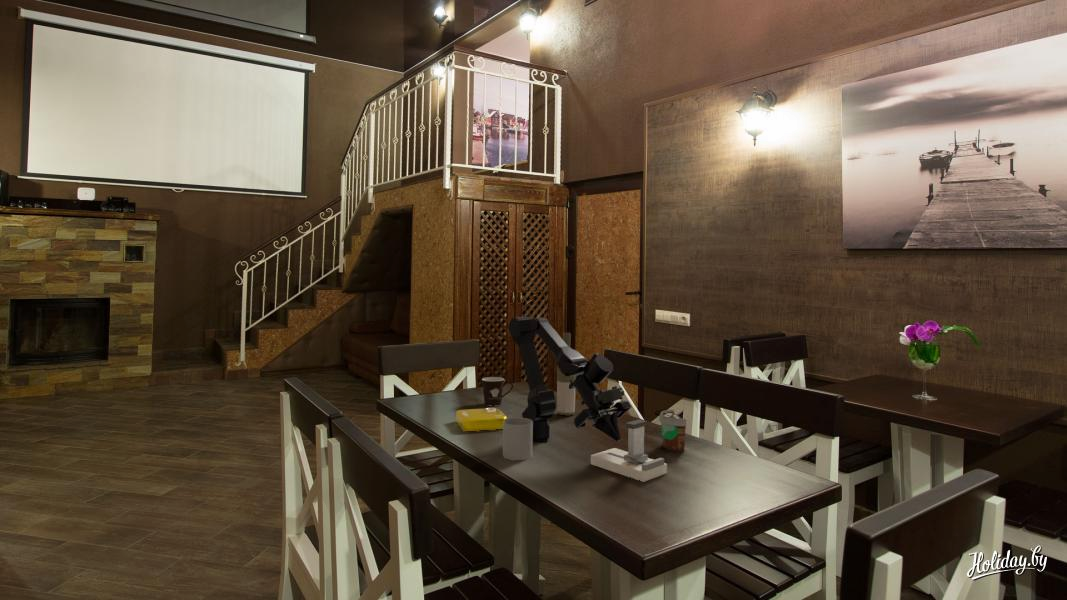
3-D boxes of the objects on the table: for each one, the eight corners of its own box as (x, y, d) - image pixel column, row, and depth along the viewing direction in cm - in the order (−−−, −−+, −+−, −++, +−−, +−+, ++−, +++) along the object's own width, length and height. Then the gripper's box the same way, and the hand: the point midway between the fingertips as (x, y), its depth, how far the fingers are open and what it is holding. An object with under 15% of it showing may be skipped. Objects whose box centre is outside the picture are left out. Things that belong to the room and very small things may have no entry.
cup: (510, 462, 165) (510, 426, 164) (498, 453, 172) (498, 419, 171) (537, 457, 169) (537, 423, 168) (524, 449, 176) (524, 416, 175)
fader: (623, 460, 158) (623, 422, 157) (636, 456, 162) (637, 418, 161) (635, 464, 155) (635, 425, 154) (648, 459, 159) (649, 421, 158)
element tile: (455, 422, 208) (455, 408, 208) (497, 419, 212) (497, 406, 212) (463, 433, 194) (463, 419, 193) (508, 430, 198) (508, 416, 198)
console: (590, 464, 164) (590, 449, 163) (614, 456, 170) (614, 442, 170) (643, 481, 150) (643, 466, 150) (666, 473, 157) (667, 458, 157)
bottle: (563, 411, 223) (564, 331, 222) (579, 413, 219) (580, 332, 218) (552, 414, 218) (553, 333, 216) (568, 417, 214) (569, 334, 212)
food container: (653, 441, 186) (653, 409, 185) (672, 440, 186) (673, 409, 186) (665, 453, 174) (666, 419, 173) (685, 453, 174) (686, 419, 174)
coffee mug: (479, 406, 229) (479, 380, 229) (484, 401, 238) (485, 376, 237) (508, 408, 228) (509, 382, 227) (513, 402, 236) (513, 377, 235)
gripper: (582, 380, 159) (613, 430, 151) (627, 372, 171) (657, 418, 164) (561, 403, 165) (589, 453, 158) (605, 394, 178) (633, 439, 170)
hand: (619, 440), depth 162 cm, fingers closed
